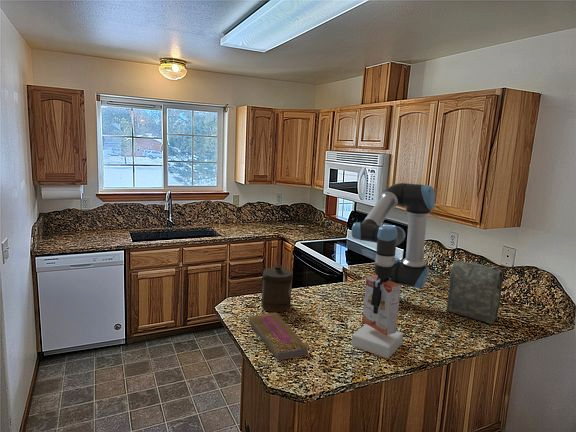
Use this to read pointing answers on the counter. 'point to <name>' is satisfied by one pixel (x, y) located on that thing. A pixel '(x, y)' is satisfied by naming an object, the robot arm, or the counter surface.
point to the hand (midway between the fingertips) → (379, 317)
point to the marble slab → (376, 341)
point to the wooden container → (276, 289)
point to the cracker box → (382, 306)
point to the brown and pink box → (274, 327)
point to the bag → (475, 291)
